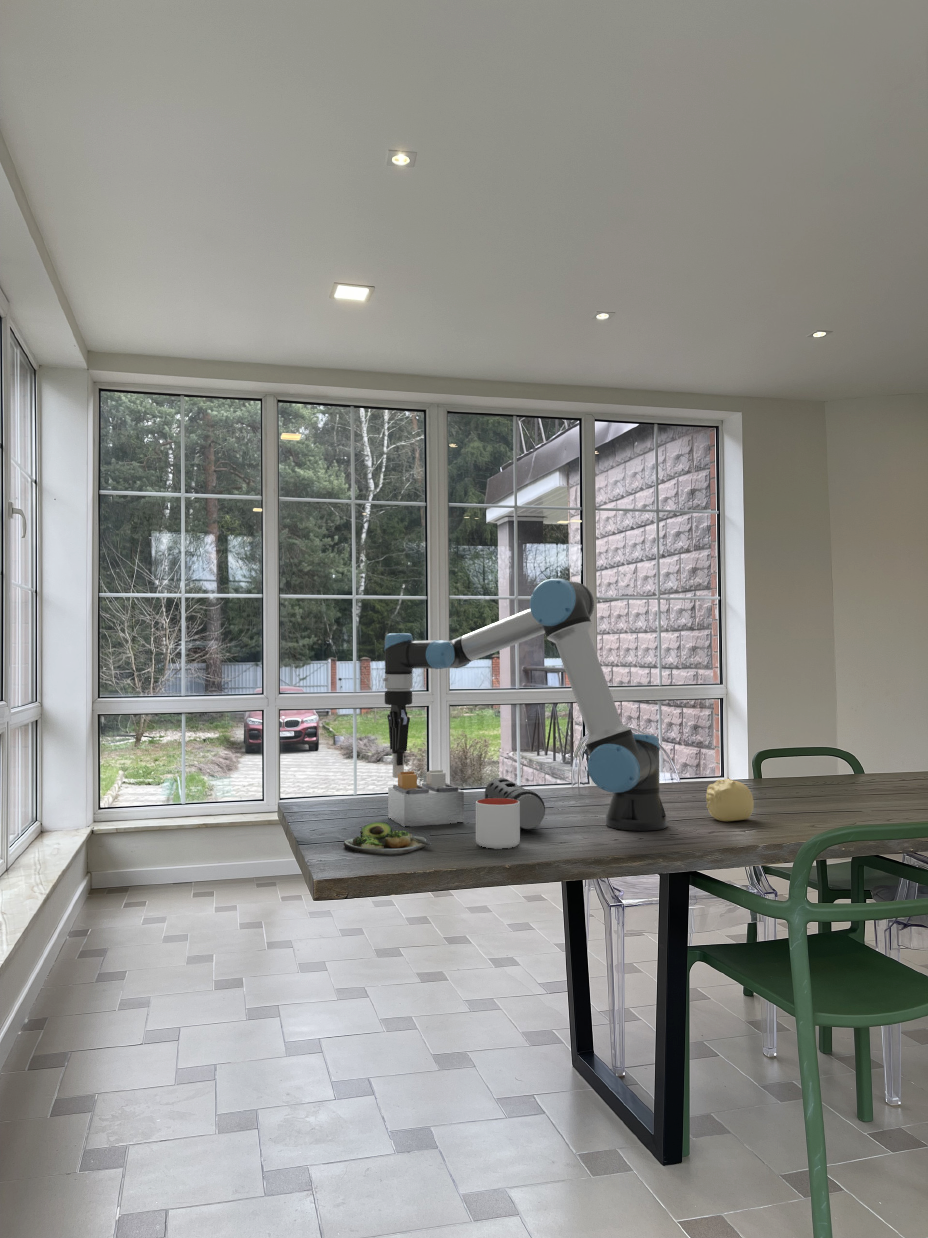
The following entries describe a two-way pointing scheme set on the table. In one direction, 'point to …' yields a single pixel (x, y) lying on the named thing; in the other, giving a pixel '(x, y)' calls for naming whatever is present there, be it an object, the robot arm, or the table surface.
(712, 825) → the table surface
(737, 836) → the table surface
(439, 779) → the toggle white
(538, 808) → the muzzle brake
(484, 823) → the cup
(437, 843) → the table surface
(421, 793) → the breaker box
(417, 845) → the salad plate
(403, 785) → the toggle orange
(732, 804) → the sculpture
